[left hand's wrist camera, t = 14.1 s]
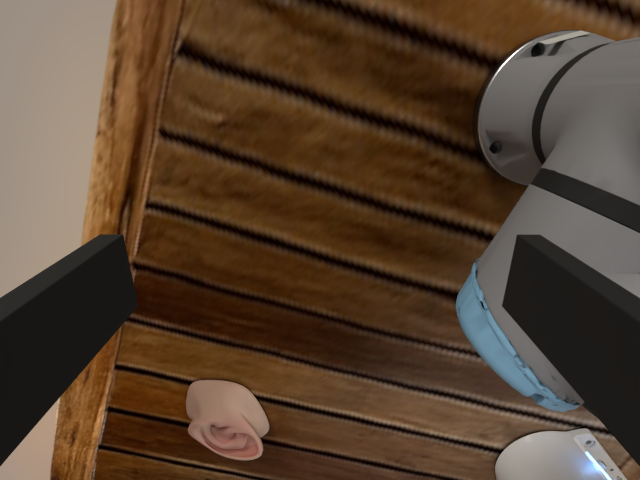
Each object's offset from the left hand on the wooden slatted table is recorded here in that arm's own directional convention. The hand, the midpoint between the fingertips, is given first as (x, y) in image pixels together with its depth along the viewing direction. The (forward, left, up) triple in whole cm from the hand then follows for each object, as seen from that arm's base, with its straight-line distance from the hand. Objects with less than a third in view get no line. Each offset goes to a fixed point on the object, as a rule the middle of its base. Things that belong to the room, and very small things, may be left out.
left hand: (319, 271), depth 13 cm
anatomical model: (+4, +41, -31) cm, 52 cm away
